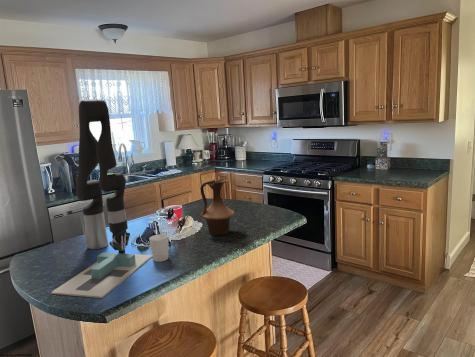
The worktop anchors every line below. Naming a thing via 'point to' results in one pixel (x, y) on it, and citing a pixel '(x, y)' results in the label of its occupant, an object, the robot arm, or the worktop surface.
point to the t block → (111, 263)
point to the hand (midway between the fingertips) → (122, 257)
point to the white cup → (159, 247)
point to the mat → (99, 280)
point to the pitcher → (216, 209)
